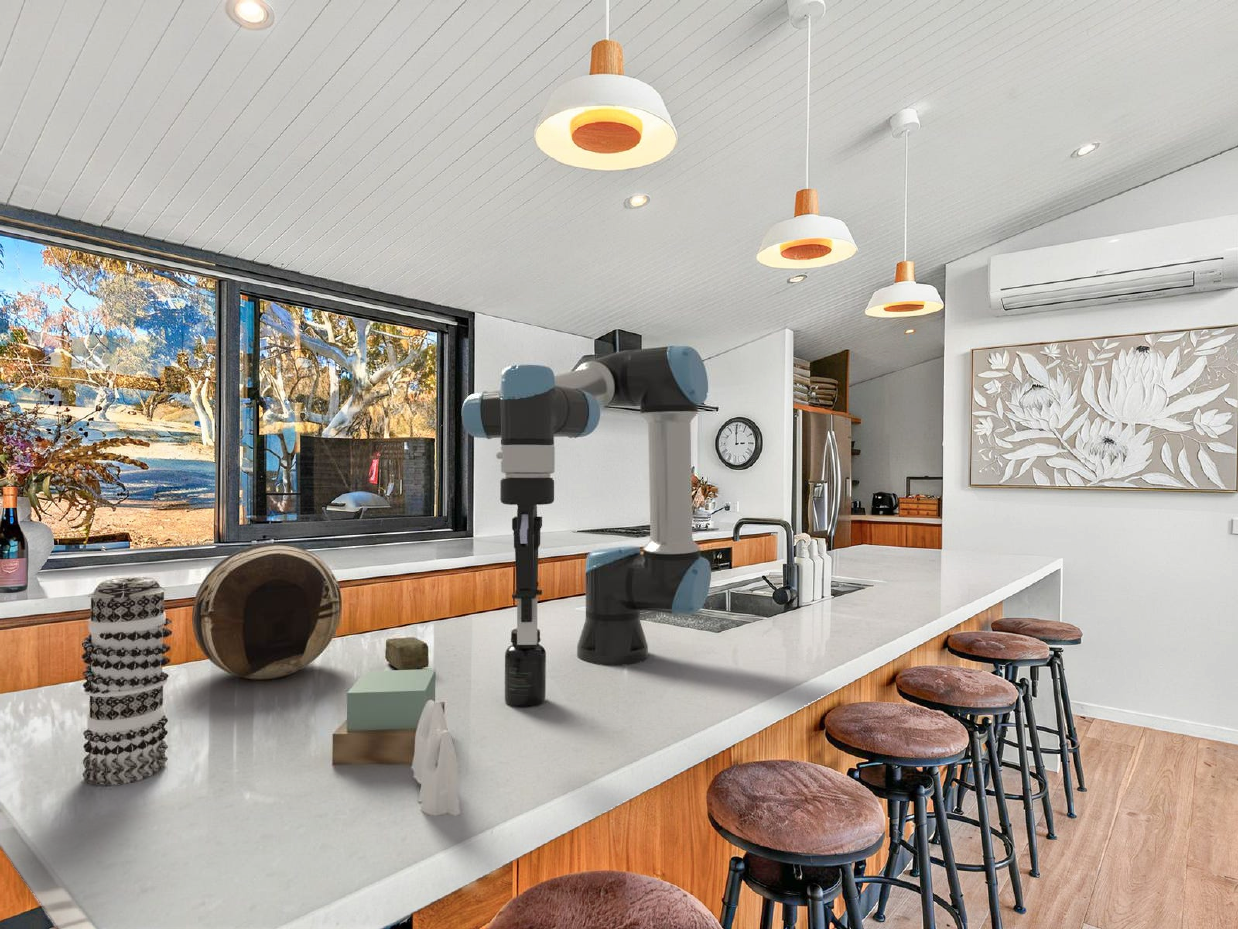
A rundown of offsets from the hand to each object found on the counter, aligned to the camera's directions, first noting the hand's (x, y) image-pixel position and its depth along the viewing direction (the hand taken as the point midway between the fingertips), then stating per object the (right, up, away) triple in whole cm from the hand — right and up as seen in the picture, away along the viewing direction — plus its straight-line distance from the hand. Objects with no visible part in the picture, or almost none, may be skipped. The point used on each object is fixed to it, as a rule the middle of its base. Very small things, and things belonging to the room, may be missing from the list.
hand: (527, 643), depth 97 cm
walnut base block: (-19, -15, -1) cm, 24 cm away
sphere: (-53, -15, +32) cm, 64 cm away
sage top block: (-18, -10, -1) cm, 21 cm away
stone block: (-27, -16, +35) cm, 47 cm away
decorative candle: (-49, -15, -11) cm, 52 cm away
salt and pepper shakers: (-9, -15, -15) cm, 23 cm away
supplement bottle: (-3, -15, +19) cm, 24 cm away
